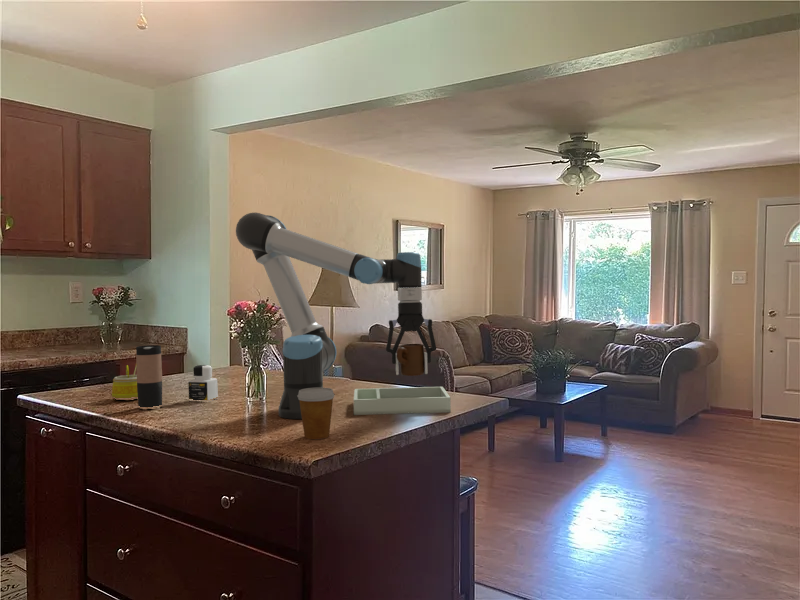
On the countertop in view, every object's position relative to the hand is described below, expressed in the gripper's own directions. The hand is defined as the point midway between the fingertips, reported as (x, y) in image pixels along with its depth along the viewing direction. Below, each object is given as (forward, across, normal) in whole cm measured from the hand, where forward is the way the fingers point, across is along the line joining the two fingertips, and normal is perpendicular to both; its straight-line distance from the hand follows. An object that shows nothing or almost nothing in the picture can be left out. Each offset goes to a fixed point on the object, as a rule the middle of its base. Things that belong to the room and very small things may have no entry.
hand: (411, 373), depth 204 cm
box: (+10, -4, 0) cm, 11 cm away
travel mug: (+10, -84, +10) cm, 85 cm away
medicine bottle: (+10, -70, +22) cm, 74 cm away
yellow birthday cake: (+10, -97, +29) cm, 102 cm away
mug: (+1, -1, 0) cm, 1 cm away
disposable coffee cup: (+11, -27, -36) cm, 46 cm away
